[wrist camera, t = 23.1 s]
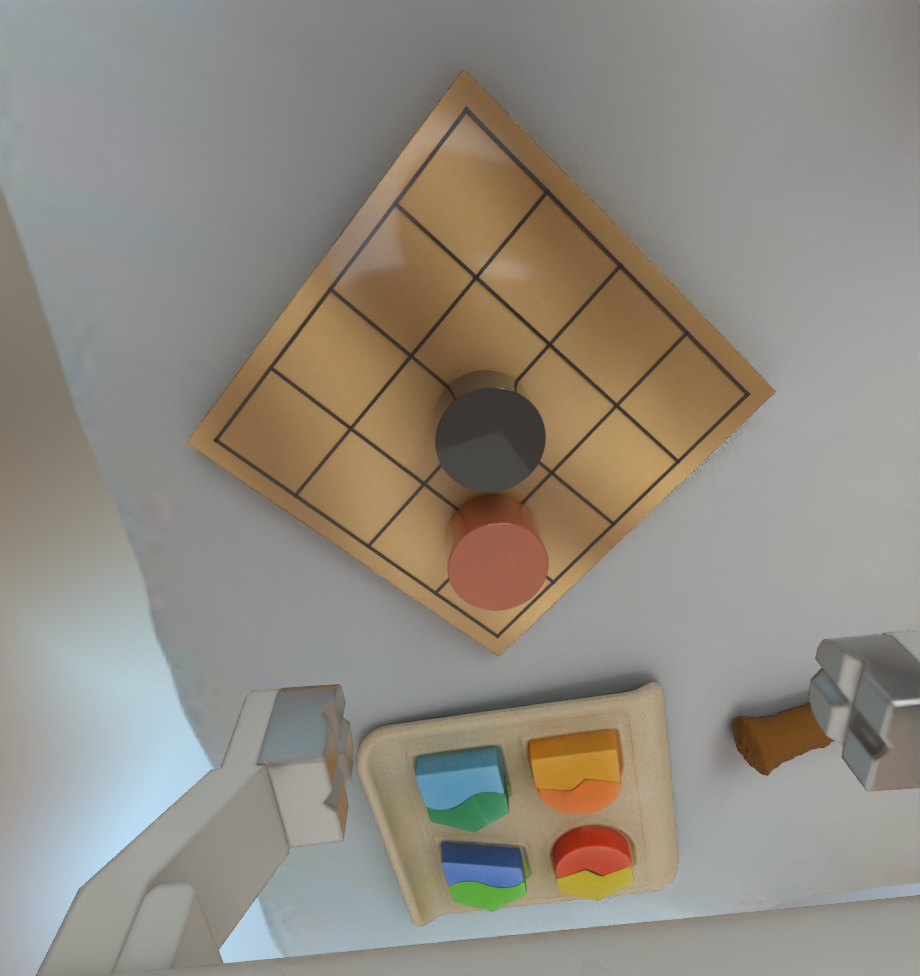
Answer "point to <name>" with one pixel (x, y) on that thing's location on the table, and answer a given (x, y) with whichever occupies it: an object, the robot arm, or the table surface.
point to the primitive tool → (777, 737)
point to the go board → (478, 366)
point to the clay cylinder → (495, 553)
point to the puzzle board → (525, 803)
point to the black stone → (488, 431)
